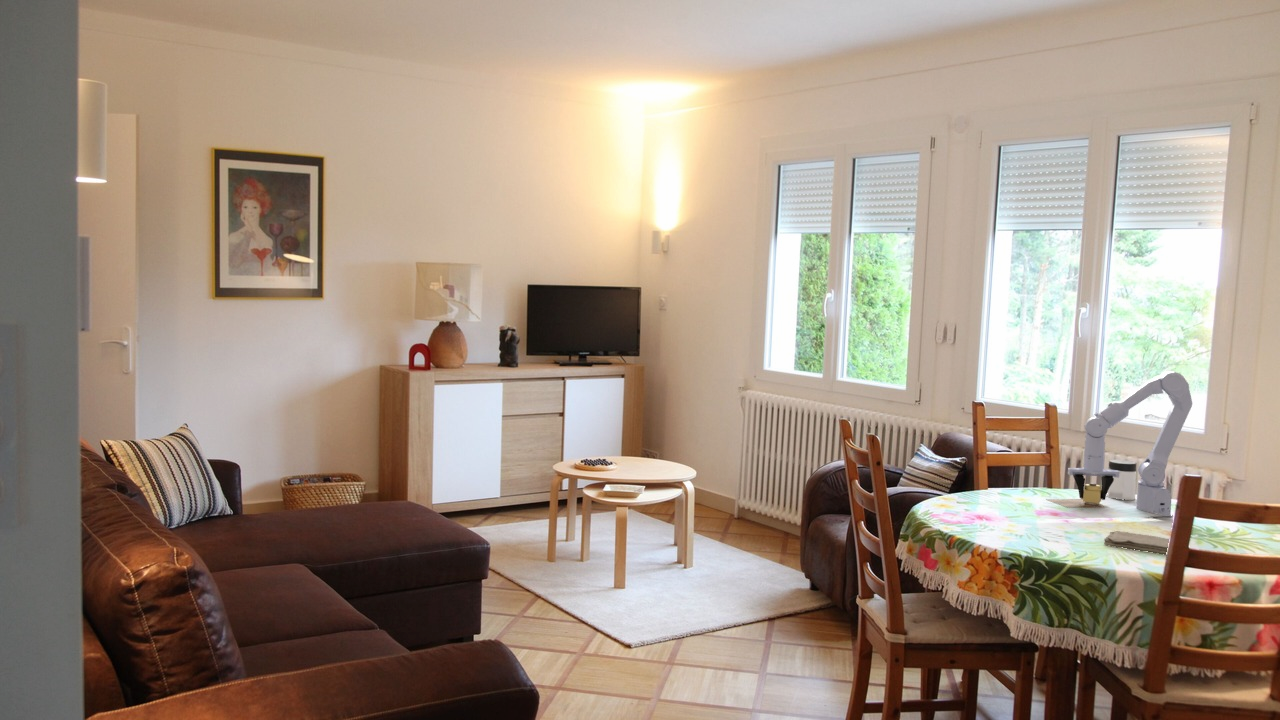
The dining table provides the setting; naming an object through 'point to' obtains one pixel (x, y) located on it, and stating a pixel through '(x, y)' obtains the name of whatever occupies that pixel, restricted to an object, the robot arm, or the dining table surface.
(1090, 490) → the yellow socket block
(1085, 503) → the stud
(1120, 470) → the jar
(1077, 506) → the board
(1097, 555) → the dining table surface
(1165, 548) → the washcloth
